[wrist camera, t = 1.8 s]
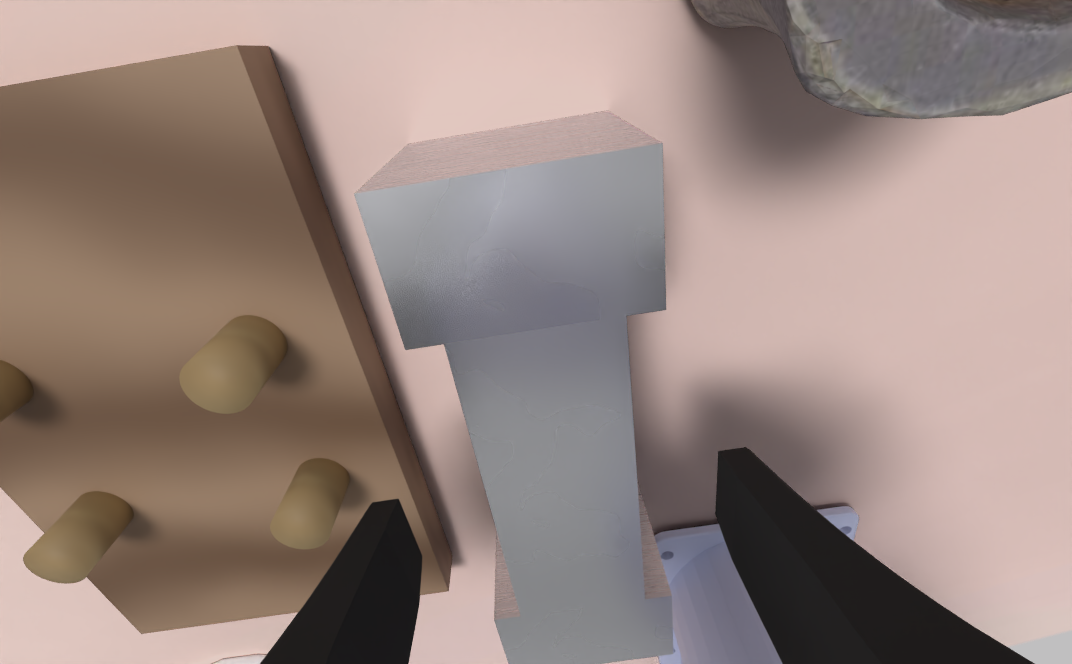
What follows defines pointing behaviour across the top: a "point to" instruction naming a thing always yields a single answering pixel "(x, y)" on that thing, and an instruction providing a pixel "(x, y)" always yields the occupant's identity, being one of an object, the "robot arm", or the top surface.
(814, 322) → the top surface
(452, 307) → the grey i-beam block
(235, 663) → the decorative candle
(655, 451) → the top surface
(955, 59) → the pipe
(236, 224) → the peg board
